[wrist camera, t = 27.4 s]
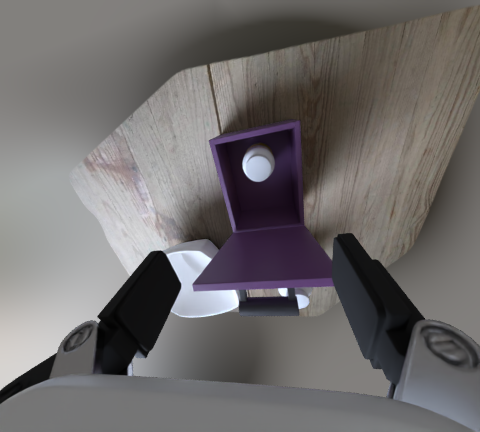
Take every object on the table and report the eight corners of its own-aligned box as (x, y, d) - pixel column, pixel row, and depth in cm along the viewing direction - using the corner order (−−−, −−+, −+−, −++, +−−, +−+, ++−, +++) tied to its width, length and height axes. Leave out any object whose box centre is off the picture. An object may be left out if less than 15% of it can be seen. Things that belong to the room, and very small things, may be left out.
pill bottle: (276, 267, 50) (280, 313, 39) (273, 246, 47) (277, 290, 35) (303, 265, 49) (316, 312, 37) (303, 244, 46) (316, 289, 34)
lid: (191, 284, 17) (201, 330, 18) (344, 277, 14) (348, 332, 15) (232, 232, 35) (236, 257, 36) (304, 225, 32) (307, 251, 33)
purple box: (220, 134, 35) (208, 140, 27) (291, 119, 32) (300, 120, 25) (238, 212, 43) (233, 233, 36) (296, 205, 40) (304, 226, 33)
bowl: (192, 287, 59) (178, 322, 49) (150, 236, 50) (122, 267, 40) (253, 272, 52) (251, 309, 42) (217, 210, 44) (203, 239, 34)
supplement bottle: (266, 173, 37) (266, 191, 28) (241, 164, 36) (235, 179, 28) (277, 148, 34) (282, 159, 26) (251, 137, 34) (247, 144, 25)
